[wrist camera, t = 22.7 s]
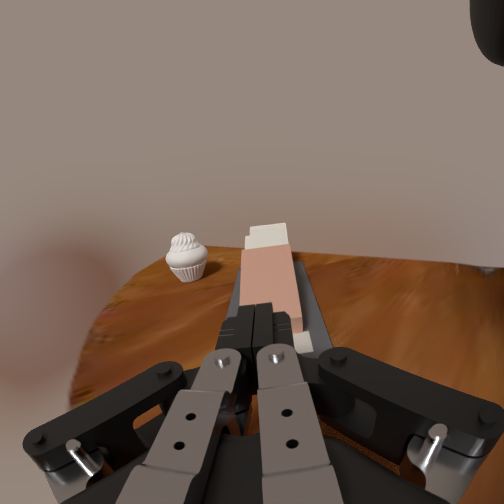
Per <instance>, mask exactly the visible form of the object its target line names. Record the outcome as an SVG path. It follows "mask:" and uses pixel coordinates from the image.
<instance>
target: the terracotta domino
mask: <svg viewBox="0 0 504 504" xmlns="http://www.w3.org/2000/svg"><path fill="white" fill-rule="evenodd" d="M268 302H272V305H273V312H281V311H285V312H286V313H287V314H288V315H289V316H290V319H291V326H292V333H293V334H295V333H303V323H302V313H301V307H300V301H299V295H298V289H297V283H296V277H295V271H294V266H293V260H292V255H291V249H290V244H284V245H276V246H269V247H261V248H253V249H245V250H242V256H241V280H240V304H239V306H242V305H251V304H255V306H256V304H260V303H268Z"/></svg>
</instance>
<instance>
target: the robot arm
mask: <svg viewBox="0 0 504 504" xmlns="http://www.w3.org/2000/svg"><path fill="white" fill-rule="evenodd" d="M470 19H471V26H472V30H473V34H474V38H475V41H476V43H477V45H478V47H479V49H480V50H481V52H482V53H483V55H484V56H485V57H486V58H487V59H488V60H490V61H491V62H493V63H494V64H497V65H500V66H504V0H470ZM256 394H258V410H259V425H260V433H257V434H253V435H249V436H248V430H249V425H250V419H251V414H252V405H251V402H252V395H256ZM357 398H358V399H357ZM359 399H360V400H359ZM361 400H362V401H361ZM363 401H364V402H363ZM365 402H366V403H365ZM367 403H368V404H367ZM158 404H159V406H160V408H161V410H162V412H163V413H161V414H160V415H158V416H156V417H155V418H153V419H152V420H150V421H149V422H147V423H145V424H144V425H142V426H140V427H139V428H137V429H135V430H134V429H133V421H134V420H135V419H136V418H137V417H138V416H140V415H141V414H143V413H145V412H146V411H148V410H150V409H151V408H153V407H154V406H156V405H158ZM369 404H370V405H369ZM317 415H319V417H320V419H321V420H322V421H323V422H324V423H326V424H327V425H329V426H330V427H332V428H334V429H335V430H337V431H339V432H340V433H342V434H343V435H345V436H347V437H348V438H350V439H352V440H354V441H355V442H357V443H359V444H360V445H362V446H364V447H366V448H367V449H369V450H371V451H373V452H375V453H376V454H378V455H380V456H382V457H384V458H386V459H387V460H389V461H391V462H393V463H395V464H397V465H399V466H400V468H399V471H400V475H401V476H399V475H397V474H396V473H394V472H392V471H390V470H389V469H387V468H385V467H384V466H382V465H380V464H379V463H377V462H375V461H374V460H372V459H370V458H369V457H367V456H366V455H364V454H362V453H361V452H359V451H358V450H356V449H355V448H353V447H352V446H350V445H348V444H347V443H345V442H343V441H341V440H339V439H336V438H333V437H330V436H326V435H322V432H321V429H320V425H319V422H318V418H317ZM503 432H504V409H503V408H502V407H501V406H499V405H498V404H495V403H493V402H490V401H487V400H484V399H481V398H478V397H475V396H472V395H469V394H466V393H463V392H460V391H457V390H455V389H452V388H449V387H446V386H443V385H441V384H438V383H435V382H433V381H430V380H427V379H424V378H422V377H419V376H417V375H414V374H411V373H409V372H406V371H404V370H401V369H399V368H396V367H394V366H391V365H388V364H386V363H384V362H381V361H379V360H376V359H374V358H371V357H369V356H366V355H364V354H362V353H359V352H357V351H354V350H352V349H349V348H345V347H335V348H330V349H327V350H325V351H324V352H322V353H321V354H320V355H319V357H318V359H317V358H308V357H304V356H302V355H300V354H298V353H297V352H296V350H295V347H294V340H293V333H292V326H291V319H290V316H289V315H288V314H287V313H286V312H285V311H281V312H273V305H272V302H268V303H260V304H256V306H255V304H251V305H242V306H239V307H238V312H237V316H236V317H228V318H227V319H226V320H225V321H224V322H223V323H222V327H221V331H220V334H219V337H218V341H217V344H216V348H215V351H213V352H211V353H209V354H208V355H207V356H206V357H205V358H204V360H203V362H202V365H201V366H200V367H198V368H194V369H190V370H186V371H183V368H182V366H181V365H180V364H179V363H177V362H172V361H168V362H162V363H159V364H156V365H154V366H153V367H151V368H149V369H147V370H146V371H144V372H142V373H140V374H139V375H137V376H135V377H133V378H131V379H130V380H128V381H126V382H124V383H122V384H120V385H119V386H117V387H115V388H113V389H111V390H109V391H108V392H106V393H104V394H102V395H100V396H98V397H96V398H94V399H93V400H91V401H89V402H87V403H85V404H83V405H81V406H79V407H77V408H75V409H73V410H71V411H69V412H67V413H65V414H63V415H61V416H59V417H57V418H55V419H53V420H51V421H50V422H47V423H45V424H43V425H41V426H39V427H37V428H35V429H33V430H31V431H30V432H29V433H28V434H27V435H26V436H25V438H24V440H23V448H24V450H25V452H26V453H27V454H28V455H29V456H30V457H31V458H32V460H33V461H34V462H35V463H36V464H37V466H38V467H39V469H40V470H41V471H42V472H43V473H44V474H45V476H46V478H47V480H48V483H49V485H50V487H51V489H52V492H53V494H54V496H55V498H56V500H57V502H58V504H457V503H458V502H459V500H460V499H461V497H462V495H463V494H464V492H465V491H466V489H467V487H468V485H469V484H470V482H471V480H472V478H473V477H474V475H475V473H476V471H477V470H478V469H479V467H480V466H481V465H482V463H483V462H484V460H485V459H486V458H487V456H488V455H489V453H490V452H491V450H492V449H493V447H494V446H495V444H496V443H497V441H498V440H499V438H500V437H501V435H502V433H503Z"/></svg>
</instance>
